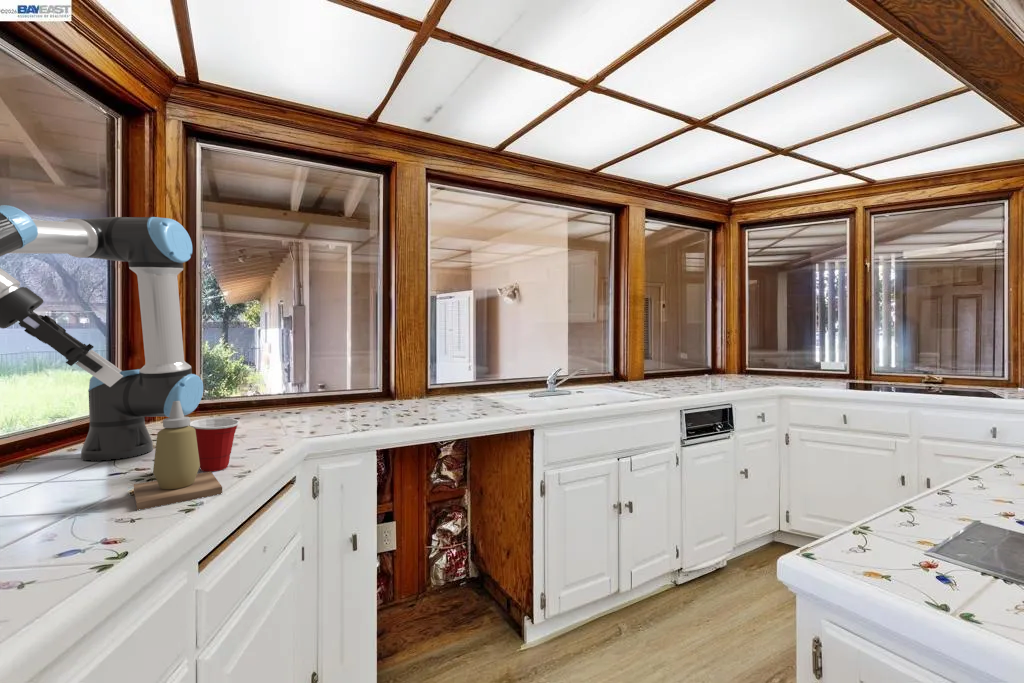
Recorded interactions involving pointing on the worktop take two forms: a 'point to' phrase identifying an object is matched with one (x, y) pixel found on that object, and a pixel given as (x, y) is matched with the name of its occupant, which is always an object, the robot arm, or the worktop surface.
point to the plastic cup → (214, 442)
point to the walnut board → (175, 491)
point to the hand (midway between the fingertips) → (116, 378)
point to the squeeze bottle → (176, 451)
